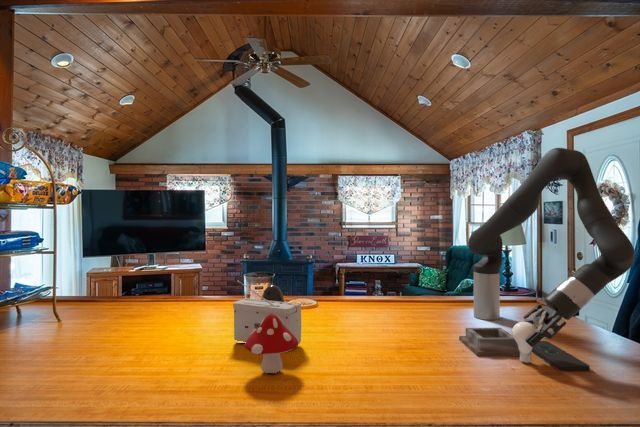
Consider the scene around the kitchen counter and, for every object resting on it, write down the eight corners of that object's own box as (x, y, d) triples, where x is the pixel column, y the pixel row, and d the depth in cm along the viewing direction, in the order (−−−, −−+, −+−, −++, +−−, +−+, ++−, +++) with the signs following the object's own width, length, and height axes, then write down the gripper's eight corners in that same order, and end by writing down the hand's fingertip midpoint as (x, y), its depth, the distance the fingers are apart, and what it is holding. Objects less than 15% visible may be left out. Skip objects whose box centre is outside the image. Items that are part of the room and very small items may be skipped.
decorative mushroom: (275, 389, 91) (274, 325, 91) (232, 376, 98) (231, 316, 98) (309, 368, 103) (308, 311, 103) (268, 358, 110) (267, 305, 110)
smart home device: (547, 340, 120) (591, 365, 100) (547, 345, 120) (591, 372, 100) (520, 340, 121) (559, 366, 101) (520, 345, 121) (559, 372, 101)
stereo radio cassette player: (302, 345, 121) (302, 280, 121) (289, 354, 113) (288, 285, 113) (246, 336, 130) (245, 276, 130) (230, 344, 122) (230, 280, 122)
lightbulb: (542, 368, 102) (542, 326, 102) (515, 366, 104) (515, 324, 104) (534, 359, 109) (533, 319, 109) (509, 357, 110) (509, 318, 110)
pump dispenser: (252, 330, 136) (251, 287, 136) (267, 322, 145) (266, 281, 145) (278, 334, 132) (278, 289, 132) (292, 325, 142) (291, 283, 141)
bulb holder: (459, 339, 125) (459, 326, 125) (502, 339, 125) (502, 326, 125) (477, 356, 111) (477, 341, 111) (526, 355, 111) (526, 340, 111)
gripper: (547, 282, 112) (504, 321, 114) (570, 293, 98) (521, 337, 100) (567, 301, 111) (524, 340, 113) (593, 315, 97) (543, 359, 99)
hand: (522, 338), depth 106 cm, fingers open, 8 cm apart
